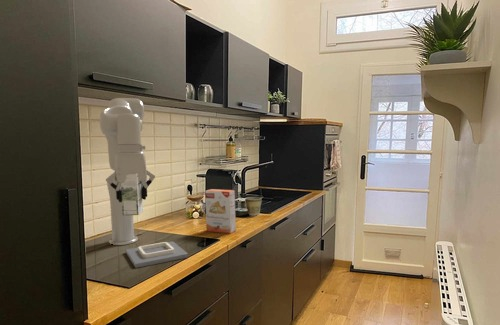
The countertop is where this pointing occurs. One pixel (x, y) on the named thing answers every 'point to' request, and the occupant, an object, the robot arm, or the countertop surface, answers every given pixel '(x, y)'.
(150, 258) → the base board
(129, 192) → the syrup box
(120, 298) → the countertop surface
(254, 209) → the ceramic cup
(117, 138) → the robot arm
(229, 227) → the cracker box
